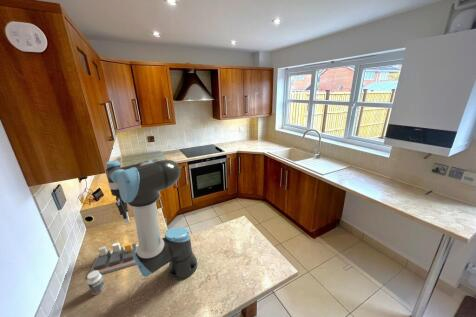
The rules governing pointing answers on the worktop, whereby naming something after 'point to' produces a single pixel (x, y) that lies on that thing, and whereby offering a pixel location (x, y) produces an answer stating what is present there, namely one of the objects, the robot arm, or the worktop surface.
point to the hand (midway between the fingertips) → (127, 222)
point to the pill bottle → (95, 282)
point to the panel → (113, 259)
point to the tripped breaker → (128, 247)
